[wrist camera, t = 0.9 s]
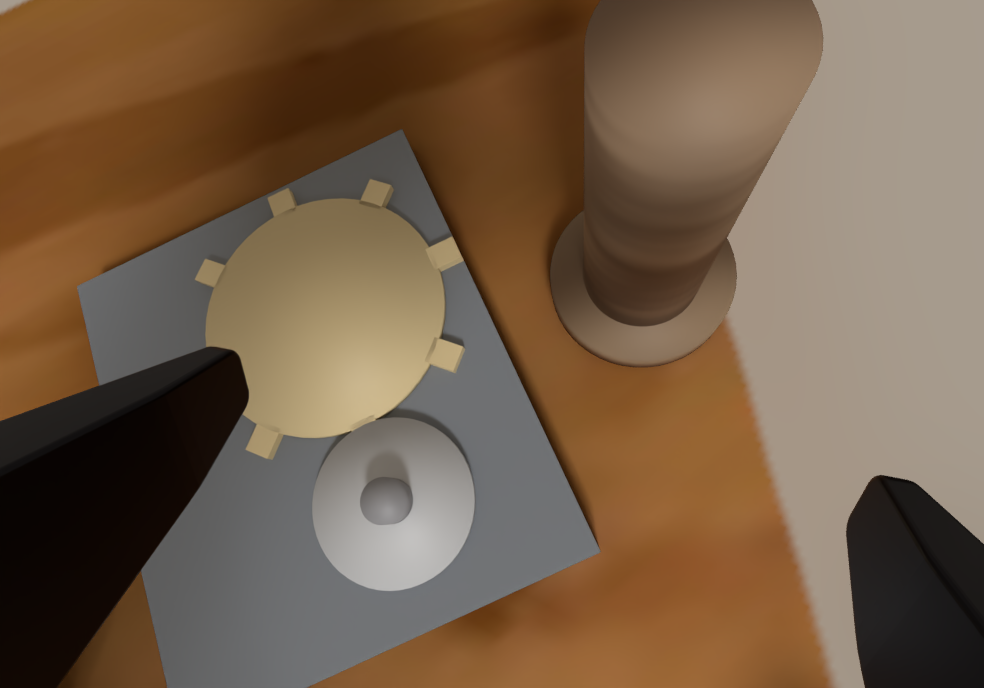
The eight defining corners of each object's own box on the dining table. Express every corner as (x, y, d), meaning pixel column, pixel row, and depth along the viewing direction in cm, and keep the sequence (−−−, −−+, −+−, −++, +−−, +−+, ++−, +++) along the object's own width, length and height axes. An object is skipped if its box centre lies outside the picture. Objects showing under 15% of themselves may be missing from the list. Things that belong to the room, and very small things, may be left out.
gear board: (599, 548, 21) (602, 555, 18) (207, 729, 22) (151, 762, 19) (411, 148, 27) (391, 108, 24) (103, 297, 27) (49, 274, 25)
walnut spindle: (763, 320, 23) (986, 95, 10) (599, 396, 23) (619, 268, 10) (674, 178, 25) (767, -152, 12) (524, 249, 25) (465, -5, 12)
